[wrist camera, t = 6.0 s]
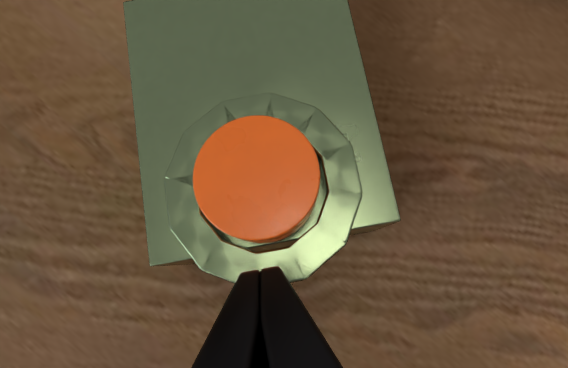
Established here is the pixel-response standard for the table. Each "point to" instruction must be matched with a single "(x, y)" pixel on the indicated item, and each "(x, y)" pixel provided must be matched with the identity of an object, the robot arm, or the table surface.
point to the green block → (248, 102)
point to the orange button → (257, 179)
